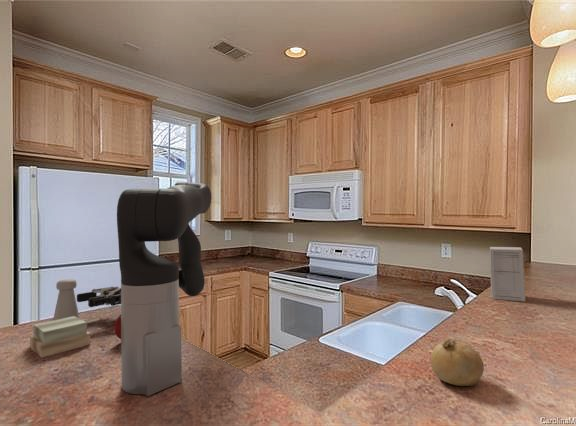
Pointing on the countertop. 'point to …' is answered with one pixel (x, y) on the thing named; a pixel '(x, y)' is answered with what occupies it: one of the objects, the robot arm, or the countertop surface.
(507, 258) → the supplement box
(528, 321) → the countertop surface
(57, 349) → the brick base
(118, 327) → the onion
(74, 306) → the salt shaker
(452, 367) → the onion
